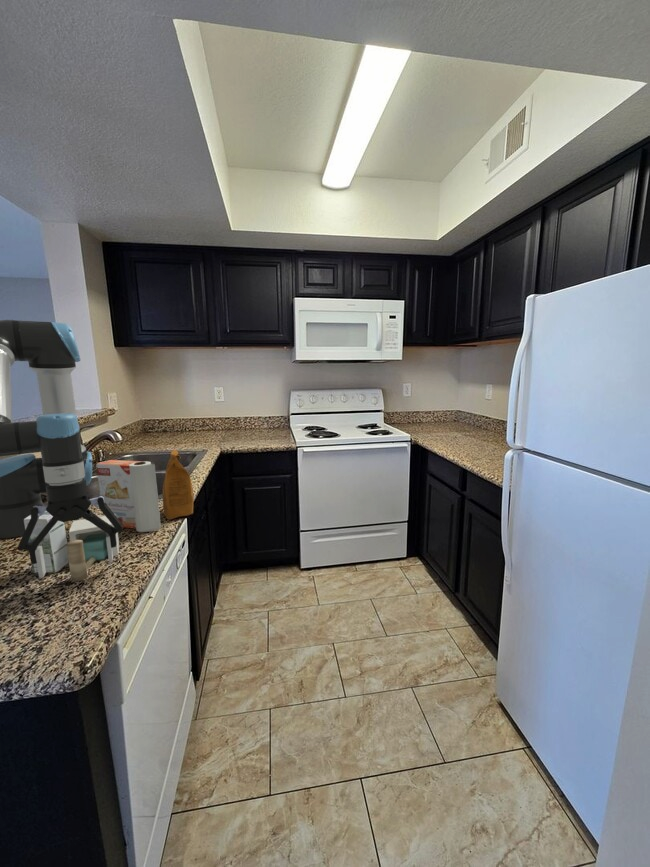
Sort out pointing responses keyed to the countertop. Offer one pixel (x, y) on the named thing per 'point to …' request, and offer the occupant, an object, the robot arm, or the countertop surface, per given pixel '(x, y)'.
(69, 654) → the countertop surface
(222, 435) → the countertop surface
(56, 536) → the syrup box
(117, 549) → the cubby
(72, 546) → the tethered block
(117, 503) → the cracker box
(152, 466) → the paper towel roll
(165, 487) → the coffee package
